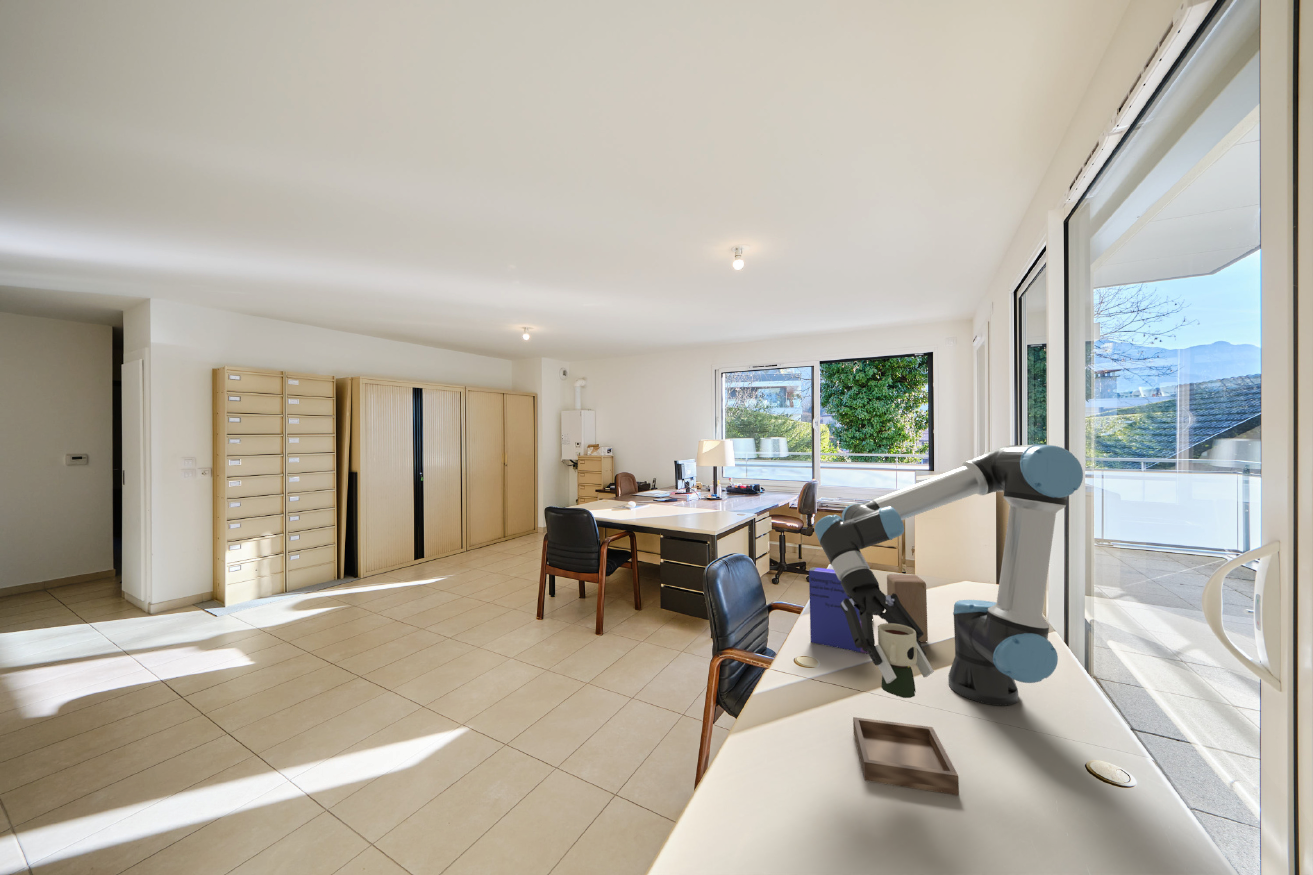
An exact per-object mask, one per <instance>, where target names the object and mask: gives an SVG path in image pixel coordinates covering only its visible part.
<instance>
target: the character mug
mask: <svg viewBox="0 0 1313 875" xmlns="http://www.w3.org/2000/svg"><path fill="white" fill-rule="evenodd" d="M877 638H878V639H877V645H880V647H881V648H882V650H883V652H884V654H885V656H886V658H887V660H888V662H889V664H890V666H891V668H892V670H893V671H894V673H895V675H896V677H897V678H896V679H894V680H893V681H892V682H891V683H886V681H885V679H884V677H883V675H882V674H881V675H882V676H881V689H882V691H884V692H886V693H888V694H891V695H894V696H896V697H899V698H903V699H911V698H914V697H915V696H916V684H915V678H914V673H913V669H912V666H915V665H916V663H917V645H916V631H915V630H914V629H912V628H910V627H908V626H905V625H901V624H894V623H888V622H885V623H881V624H880V623H879V625H877Z"/></svg>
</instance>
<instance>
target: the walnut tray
mask: <svg viewBox="0 0 1313 875" xmlns="http://www.w3.org/2000/svg"><path fill="white" fill-rule="evenodd" d="M852 722H853V724H852V725H853V727H852V728H853V731H852V732H853V737H854V741H855V746H856V748H857V754H858V758H859V762H860V766H861V771H862V774H863V779H864V781H865V782H866V781H867V782H872V783H878V784H884V785H885V784H886V785H891V786H898V787H904V788H908V789H909V788H910V789H916V790H921V791H922V790H924V791H929V792H934V793H941V794H942V793H943V794H947V795H948V794H949V795H953V796H960V789H959V788H960V785H959V784H960V782H959V780H960V779H959V774H958V772H957V771H956V768H955V766H954V765H953V763H952V761H951V759H950V757H949V755H948V753H947V751H946V749H945V748H944V746H943V744H942V741H941V740H940V739H939V736H938V735H937V733H936V731H935V729H934V727H933V726H926V725H921V724H912V723H903V722H894V721H887V720H881V719H871V718H862V717H856V716H855V717H854V716H853V717H852Z"/></svg>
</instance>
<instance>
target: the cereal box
mask: <svg viewBox="0 0 1313 875" xmlns="http://www.w3.org/2000/svg"><path fill="white" fill-rule="evenodd" d="M808 579H809V581H808V582H809V583H808V586H809V588H808V589H809V590H808V591H809V627H810V630H809V634H810V636H809V637H810V643H812V644H816V645H821V646H826V647H831V648H835V649H840V650H846V651H851V652H855V651H856V652H857V653H861V654H865V653H866V654H867V655H869V653H868V651H867V652H865V651H863V649H862V648H861V647H860V648H857V647H856V646H855V644H854V641H853V637H852V634H851V631H850V628H849V625H848V622H847V618H846V615H845V613H844V612H843V610H842V608H841V607H840V604H841V603H842V602H843V600H844V599H845V598H847V599H850V598H849V597H848V596H847V595H846V593H845V591H844V589H843V587H842V585H841V581H840V580H839V579H838V577H837V575H836V573H835V571H834V569H833V568H832V569H831V568H824V567H816V566H813V567H810V568H809V569H808ZM854 608H855V610H856V613H857V616H858V619H859V622H860V625H861V620H860V617H859V610H858V609H857V608H856V607H854ZM861 628H862V625H861Z"/></svg>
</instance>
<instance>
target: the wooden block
mask: <svg viewBox="0 0 1313 875" xmlns="http://www.w3.org/2000/svg"><path fill="white" fill-rule="evenodd" d="M893 593H894V594H896V595H897V596H898V599H899V601H900V603H901V604H902V606H903V607H904V608H905V610H906V611H907V612H908V613H909V615H910V616H911V617H912V619H913V620H914V621H915V622H916V624H917V625H918V626H919V628H920V629H921V630H922V632H923V635H922V636H921V637H920V638H919V641H920V643H924V642H925V643H927V642H928V641H929V640H928V639H929V638H928V637H929V635H928V634H929V633H928V611H927V610H928V606H927V605H928V602H927V601H928V600H927V584H926V582H925V581H924V580H923V579H922V578H920V577H919V576H918V575H915V574H901V573H900V574H897V573H896V574H895V573H894V574H893V573H889V574H887V575H886V595H890V596H891V595H892V594H893ZM921 641H922V642H921ZM926 641H927V642H926Z"/></svg>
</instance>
